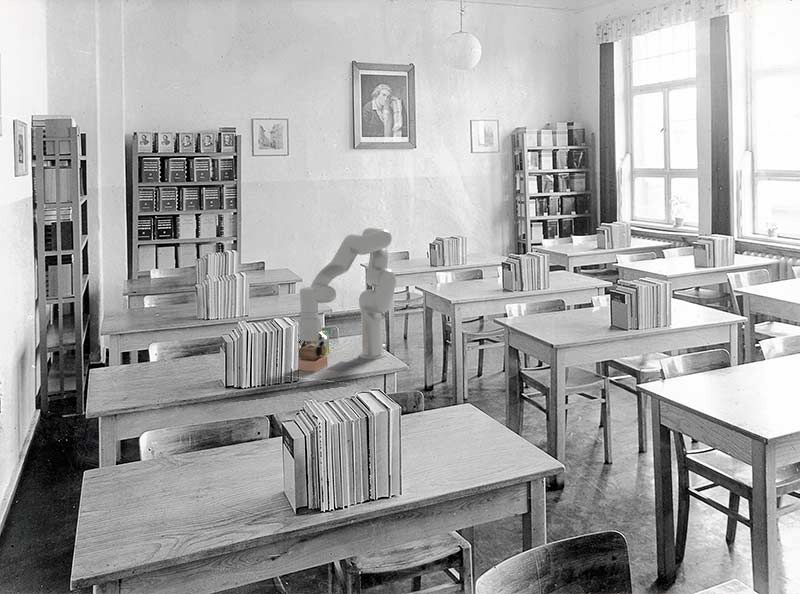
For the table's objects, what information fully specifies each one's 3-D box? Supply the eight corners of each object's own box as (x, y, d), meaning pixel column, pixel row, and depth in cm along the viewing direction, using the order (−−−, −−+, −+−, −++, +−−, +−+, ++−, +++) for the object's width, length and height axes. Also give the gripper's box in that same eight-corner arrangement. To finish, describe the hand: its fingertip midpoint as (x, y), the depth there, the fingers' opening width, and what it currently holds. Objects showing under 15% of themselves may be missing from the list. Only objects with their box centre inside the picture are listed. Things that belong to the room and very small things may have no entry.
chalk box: (324, 358, 342) (323, 327, 340) (305, 358, 344) (304, 327, 341) (330, 353, 351) (329, 323, 348) (311, 353, 353) (310, 323, 350)
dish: (308, 364, 333) (308, 354, 332) (327, 367, 328) (327, 356, 328) (296, 370, 324) (296, 359, 323) (316, 373, 320) (315, 362, 319)
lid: (311, 351, 331) (311, 341, 330) (324, 353, 328) (324, 342, 327) (298, 358, 321) (297, 347, 321) (311, 359, 319) (311, 348, 318)
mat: (341, 362, 336) (341, 361, 336) (360, 364, 331) (360, 363, 331) (325, 370, 323) (325, 369, 323) (345, 372, 319) (345, 371, 319)
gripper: (288, 315, 322) (290, 355, 325) (322, 318, 315) (324, 358, 318) (297, 312, 329) (299, 350, 332) (331, 314, 321) (333, 354, 325)
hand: (311, 354), depth 325 cm, fingers closed on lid, 7 cm apart
